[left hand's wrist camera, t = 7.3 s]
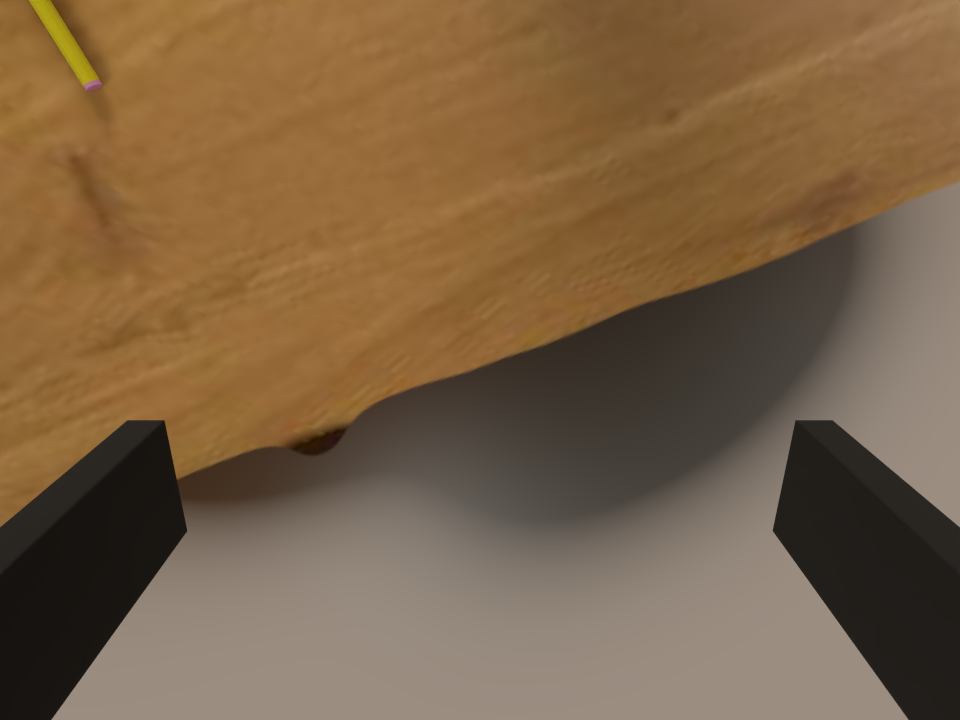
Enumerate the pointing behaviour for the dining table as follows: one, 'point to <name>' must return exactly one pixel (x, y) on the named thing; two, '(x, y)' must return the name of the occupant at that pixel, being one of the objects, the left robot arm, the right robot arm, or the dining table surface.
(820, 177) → the dining table surface
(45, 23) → the pencil
